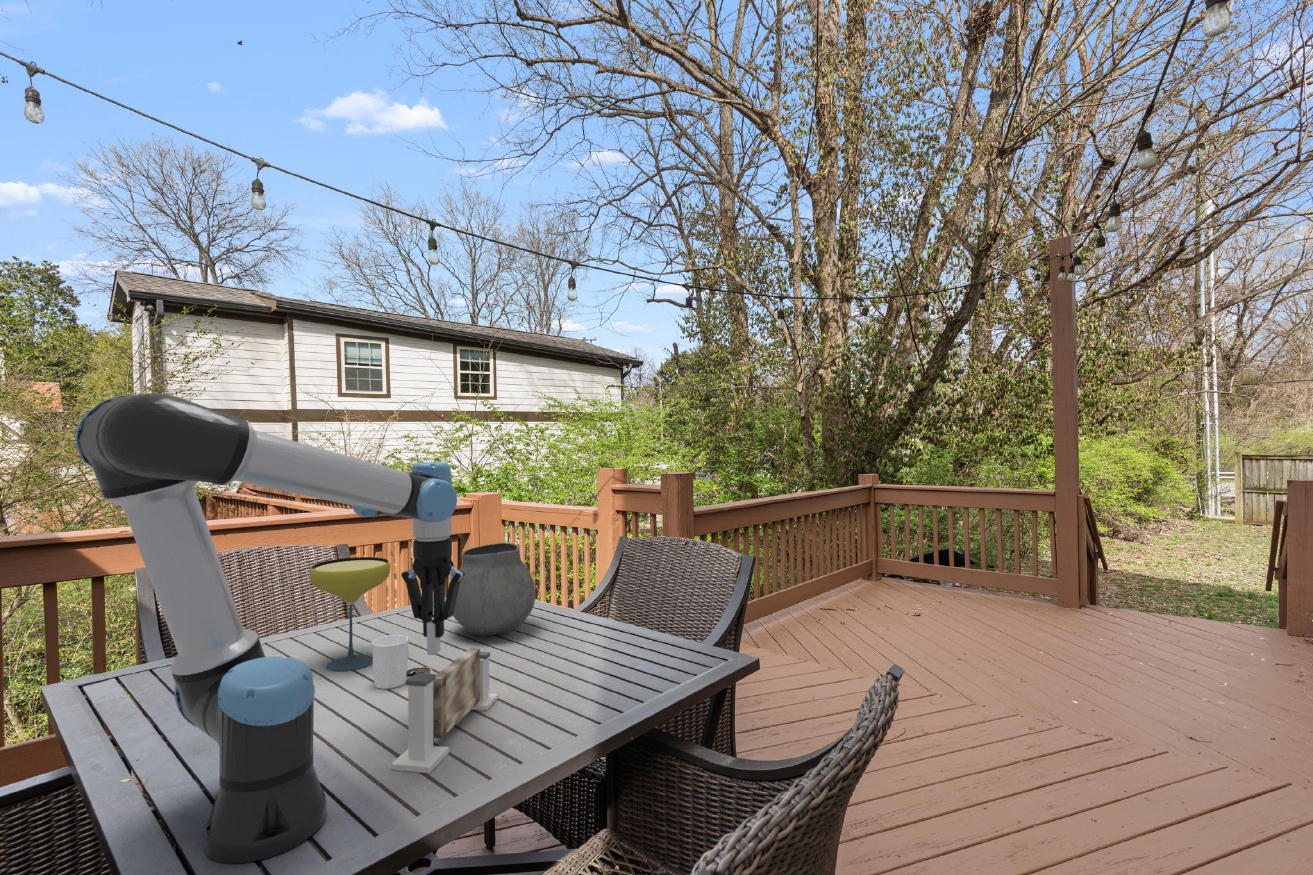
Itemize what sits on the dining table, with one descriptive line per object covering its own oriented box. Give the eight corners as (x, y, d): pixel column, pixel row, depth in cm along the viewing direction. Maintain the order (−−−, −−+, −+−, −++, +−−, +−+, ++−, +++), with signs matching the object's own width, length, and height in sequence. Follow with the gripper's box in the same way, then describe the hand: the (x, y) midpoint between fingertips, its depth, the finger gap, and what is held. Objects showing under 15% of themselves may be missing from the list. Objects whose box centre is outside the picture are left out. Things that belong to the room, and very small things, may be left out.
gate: (431, 747, 112) (432, 686, 112) (421, 746, 113) (421, 685, 112) (479, 700, 132) (479, 648, 132) (470, 700, 132) (470, 648, 132)
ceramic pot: (449, 623, 190) (449, 541, 190) (530, 617, 197) (530, 537, 197) (448, 650, 167) (448, 556, 167) (540, 641, 174) (540, 551, 174)
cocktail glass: (315, 655, 162) (315, 559, 162) (391, 647, 169) (391, 554, 169) (303, 681, 146) (303, 574, 145) (388, 671, 152) (388, 568, 152)
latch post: (486, 710, 130) (486, 659, 130) (459, 708, 131) (459, 657, 131) (498, 698, 136) (498, 649, 136) (472, 696, 137) (472, 647, 137)
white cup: (395, 691, 140) (395, 647, 140) (364, 688, 142) (364, 644, 142) (415, 678, 148) (415, 636, 148) (385, 675, 149) (385, 633, 149)
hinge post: (429, 773, 106) (429, 686, 106) (391, 769, 107) (391, 683, 107) (449, 752, 113) (449, 671, 113) (413, 749, 114) (413, 668, 114)
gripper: (470, 535, 131) (472, 647, 131) (412, 534, 133) (414, 644, 133) (453, 541, 123) (455, 660, 124) (392, 540, 125) (394, 657, 126)
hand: (433, 652), depth 128 cm, fingers closed
